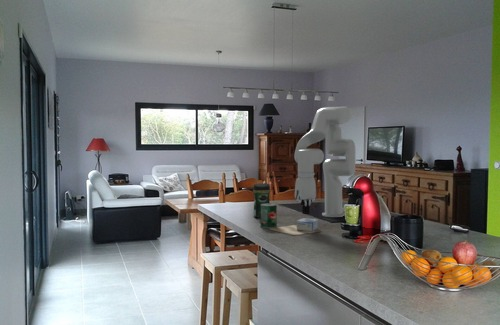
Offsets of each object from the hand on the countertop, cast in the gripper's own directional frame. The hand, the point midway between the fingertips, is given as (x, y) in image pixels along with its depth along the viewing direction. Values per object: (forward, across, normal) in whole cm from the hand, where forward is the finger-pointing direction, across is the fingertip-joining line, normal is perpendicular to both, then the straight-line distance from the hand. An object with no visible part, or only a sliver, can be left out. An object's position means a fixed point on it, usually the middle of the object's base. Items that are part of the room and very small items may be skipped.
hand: (305, 213), depth 217 cm
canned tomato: (+7, +11, -15) cm, 20 cm away
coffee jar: (+7, -3, -40) cm, 41 cm away
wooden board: (+7, +7, 0) cm, 10 cm away
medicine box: (+4, -2, +1) cm, 5 cm away
